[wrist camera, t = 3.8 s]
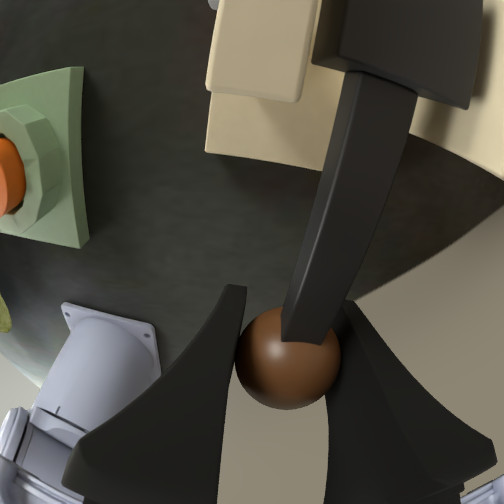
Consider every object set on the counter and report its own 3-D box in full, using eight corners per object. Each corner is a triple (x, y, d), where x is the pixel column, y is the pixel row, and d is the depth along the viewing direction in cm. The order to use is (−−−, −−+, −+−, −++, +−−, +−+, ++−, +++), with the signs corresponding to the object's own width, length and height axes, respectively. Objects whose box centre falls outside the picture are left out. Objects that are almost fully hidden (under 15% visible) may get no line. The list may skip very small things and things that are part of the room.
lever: (317, 350, 10) (323, 425, 8) (234, 341, 10) (225, 419, 8) (432, 5, 4) (519, -10, 1) (302, -41, 3) (325, -112, 1)
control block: (90, 238, 15) (64, 267, 13) (9, 224, 15) (-16, 245, 12) (84, 66, 10) (47, 67, 7) (-4, 88, 10) (-37, 97, 7)
